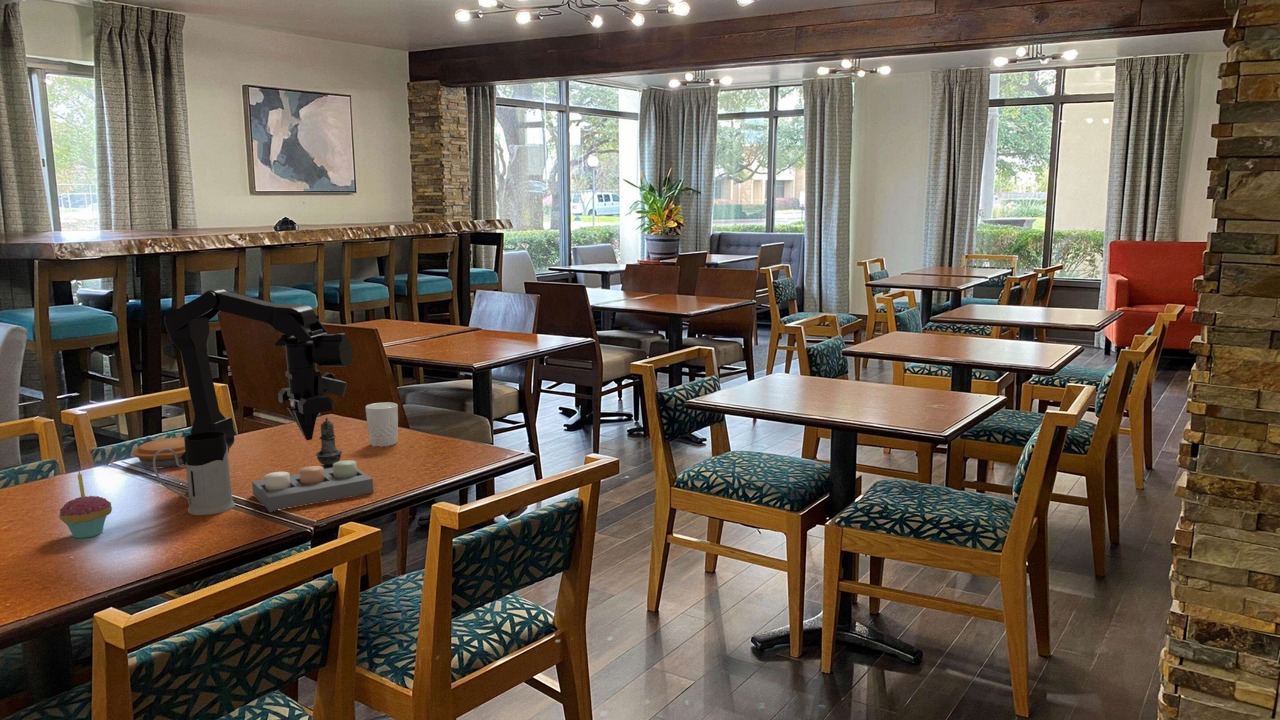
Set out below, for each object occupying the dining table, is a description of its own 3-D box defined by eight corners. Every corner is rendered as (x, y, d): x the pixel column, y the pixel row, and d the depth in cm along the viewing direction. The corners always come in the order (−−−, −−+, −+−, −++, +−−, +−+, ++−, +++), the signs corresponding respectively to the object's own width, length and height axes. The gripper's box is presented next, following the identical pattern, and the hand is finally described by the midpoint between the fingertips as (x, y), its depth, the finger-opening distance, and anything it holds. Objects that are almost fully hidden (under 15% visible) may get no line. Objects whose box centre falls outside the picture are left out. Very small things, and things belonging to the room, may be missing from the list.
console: (270, 512, 184) (268, 497, 183) (253, 495, 195) (251, 481, 194) (373, 492, 196) (372, 478, 195) (351, 477, 207) (351, 464, 206)
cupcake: (56, 534, 173) (49, 472, 171) (107, 523, 179) (100, 462, 177) (69, 545, 167) (61, 481, 165) (120, 533, 173) (113, 471, 171)
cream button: (269, 495, 188) (267, 479, 187) (263, 490, 191) (261, 474, 191) (293, 491, 190) (292, 475, 190) (287, 486, 194) (285, 470, 194)
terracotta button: (304, 489, 192) (303, 473, 191) (297, 484, 195) (296, 468, 195) (327, 485, 194) (326, 469, 194) (320, 480, 198) (319, 464, 198)
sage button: (338, 483, 196) (337, 467, 195) (331, 478, 199) (330, 462, 199) (360, 479, 198) (359, 463, 198) (353, 474, 202) (352, 459, 202)
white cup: (406, 442, 238) (404, 404, 236) (382, 449, 231) (380, 410, 229) (384, 438, 242) (382, 401, 240) (361, 445, 235) (358, 406, 233)
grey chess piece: (347, 464, 217) (344, 414, 215) (336, 471, 212) (333, 420, 210) (323, 464, 218) (319, 414, 216) (312, 471, 212) (308, 420, 210)
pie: (191, 450, 233) (189, 430, 232) (216, 461, 223) (214, 440, 222) (124, 462, 222) (122, 442, 222) (147, 474, 212) (145, 453, 211)
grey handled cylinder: (241, 508, 186) (235, 435, 184) (165, 524, 177) (157, 448, 175) (226, 498, 193) (220, 428, 190) (152, 513, 184) (144, 440, 181)
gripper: (355, 366, 189) (362, 441, 191) (326, 357, 204) (332, 426, 206) (300, 374, 182) (307, 450, 185) (274, 363, 197) (281, 434, 200)
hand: (308, 439), depth 194 cm, fingers closed
